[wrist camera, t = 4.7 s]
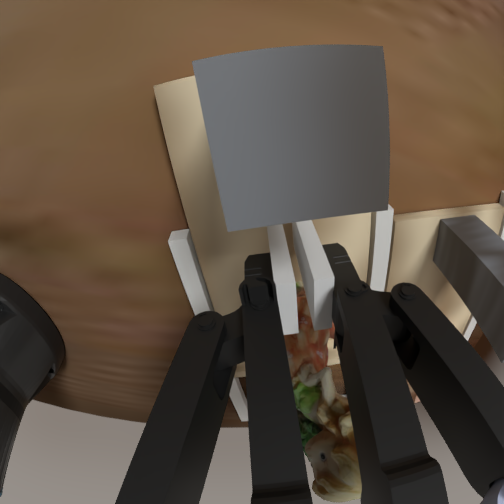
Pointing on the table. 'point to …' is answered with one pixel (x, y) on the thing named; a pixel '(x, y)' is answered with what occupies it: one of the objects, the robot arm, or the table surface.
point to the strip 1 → (278, 155)
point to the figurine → (322, 410)
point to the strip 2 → (454, 264)
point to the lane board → (376, 280)
